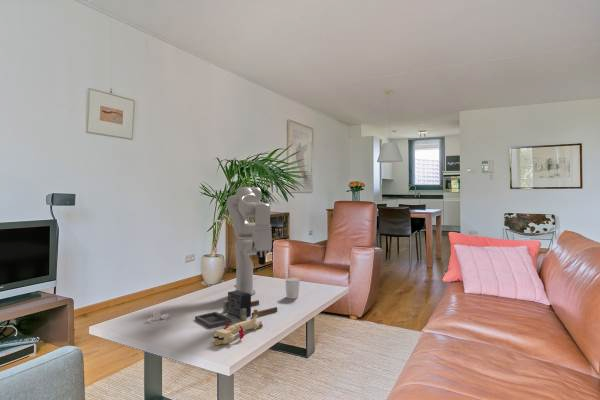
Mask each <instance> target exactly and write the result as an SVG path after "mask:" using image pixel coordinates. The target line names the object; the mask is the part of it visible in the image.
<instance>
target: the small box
mask: <svg viewBox="0 0 600 400" xmlns="http://www.w3.org/2000/svg"><path fill="white" fill-rule="evenodd" d="M227 301H228V312H227V314H228V315H230V316H232V317H235V318H238V319H240V309H242V308H245V309H247V317H252V312H251V311H252V306H251V302H252V295H251V294H249V293H246V292H242V291H239V290H237V291H235V290H233V291H228V292H227ZM247 317H246V318H247Z"/></svg>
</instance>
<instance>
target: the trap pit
mask: <svg viewBox="0 0 600 400" xmlns="http://www.w3.org/2000/svg"><path fill="white" fill-rule="evenodd" d="M194 319H195V320H194V321H197V322H199V323H200V324H202V325H204V326H205V327H208V328H209V329H214V328H217V327H221V326H226V325H227V324H228V323H230V322H231V323H230V324H232V323H233V322H232V318H229V317H228V316H226V315H224V314H221V313H220V312H218V311H212V312H207V313H203V314H199V315H195V316H194Z"/></svg>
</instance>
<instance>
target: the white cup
mask: <svg viewBox="0 0 600 400" xmlns="http://www.w3.org/2000/svg"><path fill="white" fill-rule="evenodd" d="M300 280H301V279H300V278H297V277H288V278H285V294H286V298H287V299H291V300H292V299H293V300H294V299H298V298H299V292H300Z"/></svg>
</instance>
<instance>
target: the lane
mask: <svg viewBox="0 0 600 400" xmlns="http://www.w3.org/2000/svg"><path fill="white" fill-rule="evenodd" d="M258 305H260V300H259V299H257V300H251V307H255V306H258ZM222 307H223V309H222V311H223V312H222V313H227V314H228V300H223V303H222ZM257 311H258V313H259V314H258V317H259V318H260V317H262V316H265V315H270V314H273V313H277V312H278V307H277V306H275V307H270V308H267V309H266V308H265V309H262V310H257ZM254 315H255V313H253V312H251V317H252V319H253V317H254ZM258 317H257V318H258ZM239 319H240V322H243V321H247V309H245V308H242V309H240V318H239Z"/></svg>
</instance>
